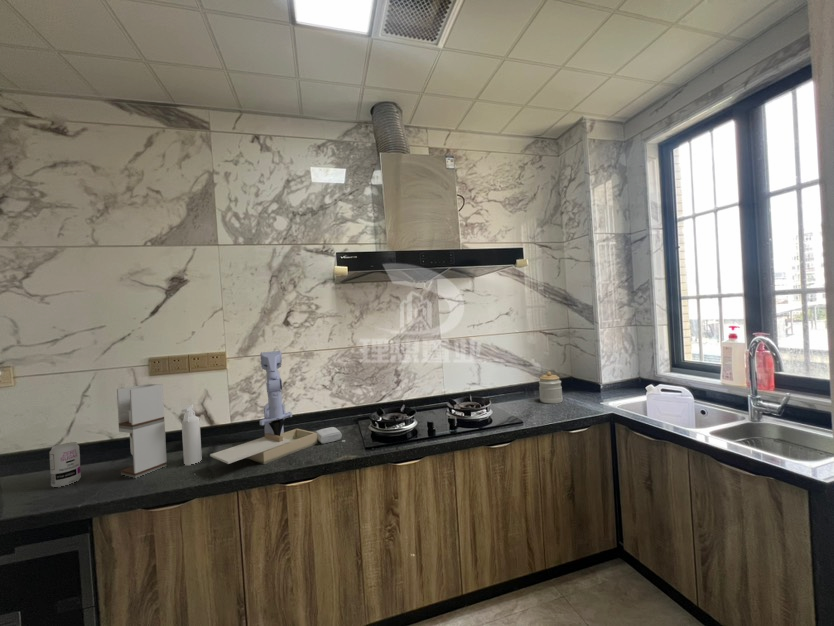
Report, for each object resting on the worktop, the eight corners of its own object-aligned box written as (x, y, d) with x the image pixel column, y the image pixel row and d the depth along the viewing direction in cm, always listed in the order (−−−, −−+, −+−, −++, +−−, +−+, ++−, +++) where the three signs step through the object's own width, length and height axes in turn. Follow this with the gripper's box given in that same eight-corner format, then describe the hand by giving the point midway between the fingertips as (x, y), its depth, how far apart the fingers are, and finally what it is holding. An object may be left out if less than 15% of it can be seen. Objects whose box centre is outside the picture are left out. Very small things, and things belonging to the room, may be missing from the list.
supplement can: (64, 480, 140) (62, 442, 140) (86, 477, 140) (84, 440, 141) (44, 489, 132) (42, 450, 132) (68, 487, 132) (66, 447, 133)
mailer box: (245, 457, 150) (244, 445, 151) (297, 438, 171) (296, 428, 171) (264, 464, 141) (263, 452, 141) (317, 443, 161) (316, 432, 162)
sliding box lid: (210, 456, 140) (209, 449, 140) (270, 436, 160) (270, 430, 160) (228, 463, 130) (227, 457, 130) (290, 441, 151) (289, 435, 151)
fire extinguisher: (208, 454, 157) (202, 400, 156) (197, 466, 145) (191, 407, 144) (191, 457, 155) (186, 402, 155) (179, 469, 143) (173, 409, 143)
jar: (542, 404, 202) (539, 374, 202) (538, 399, 215) (535, 370, 215) (565, 403, 200) (563, 373, 200) (560, 398, 213) (557, 369, 213)
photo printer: (342, 439, 164) (334, 433, 175) (341, 430, 164) (334, 425, 175) (320, 445, 159) (314, 438, 170) (320, 435, 159) (313, 429, 170)
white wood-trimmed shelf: (152, 464, 150) (148, 383, 151) (166, 466, 146) (162, 384, 147) (121, 475, 140) (116, 389, 141) (135, 478, 136) (130, 389, 137)
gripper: (264, 411, 147) (266, 443, 146) (295, 403, 158) (297, 433, 158) (256, 409, 151) (258, 441, 151) (286, 402, 162) (288, 431, 162)
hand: (277, 436), depth 154 cm, fingers closed
